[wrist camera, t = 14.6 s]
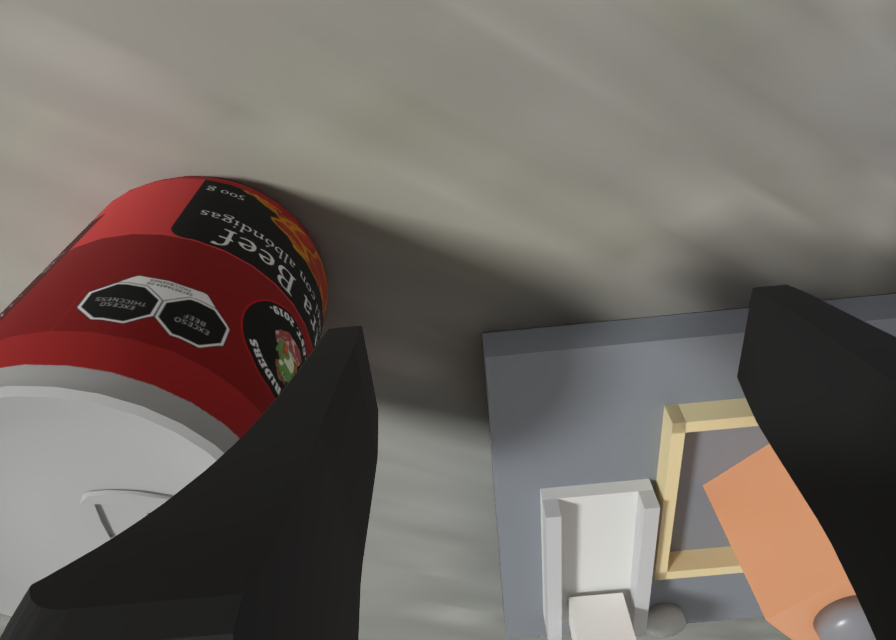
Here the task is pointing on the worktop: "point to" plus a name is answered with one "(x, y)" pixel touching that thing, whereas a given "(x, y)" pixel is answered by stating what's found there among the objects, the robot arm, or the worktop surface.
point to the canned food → (144, 362)
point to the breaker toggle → (599, 618)
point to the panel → (623, 465)
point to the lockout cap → (785, 552)
